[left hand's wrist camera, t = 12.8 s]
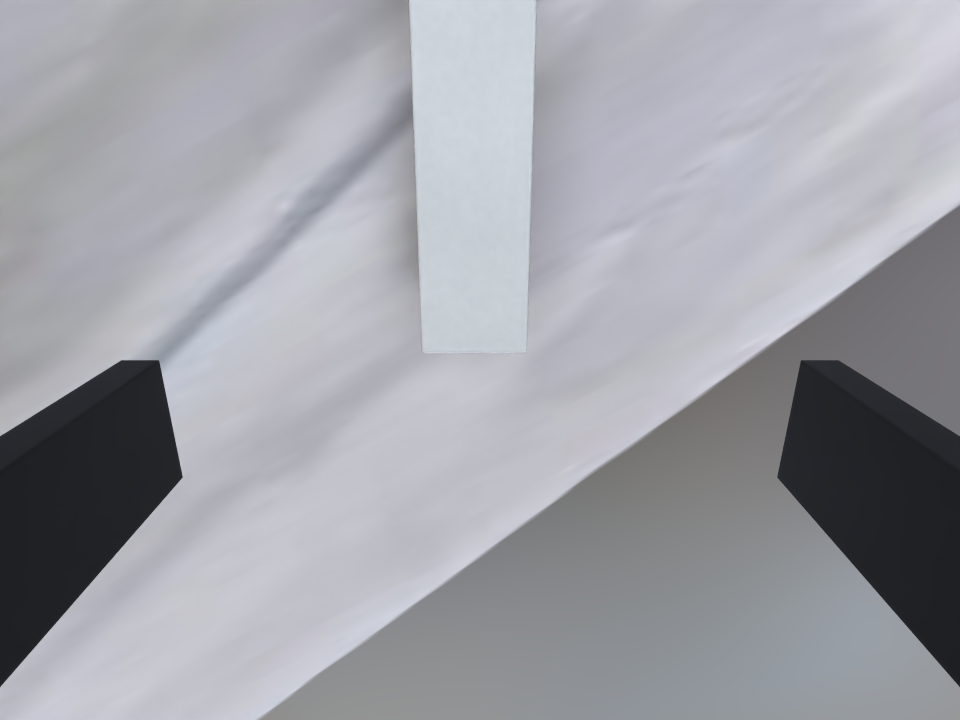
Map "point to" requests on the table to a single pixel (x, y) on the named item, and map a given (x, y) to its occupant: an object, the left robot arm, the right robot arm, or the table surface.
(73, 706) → the table surface
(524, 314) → the post
